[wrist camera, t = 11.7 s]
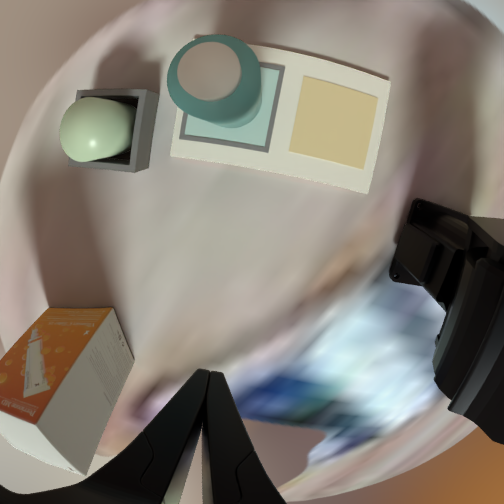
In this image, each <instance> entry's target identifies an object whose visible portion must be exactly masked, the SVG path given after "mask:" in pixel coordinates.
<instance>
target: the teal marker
mask: <svg viewBox="0 0 504 504" xmlns="http://www.w3.org/2000/svg"><path fill="white" fill-rule="evenodd" d="M167 86H168V91H169V94H170V96H171V98H172V100H173V101H174V103H175V104H176V105H177V106H178V107H179V108H180V109H181V110H182V111H184V112H185V113H187V114H189V115H191V116H193V117H196V118H199V119H202V120H205V121H207V122H210V123H213V124H215V125H218V126H221V127H224V128H238V127H242V126H244V125H246V124H248V123H249V122H251V121H252V120H253V119H254V118H255V117H256V116H257V114H258V113H259V111H260V108H261V104H262V89H261V70H260V64H259V61H258V59H257V56H256V55H255V53H254V52H253V50H252V49H251V48H250V47H249V46H248V45H247V44H245V43H244V42H243V41H241V40H239V39H237V38H234V37H231V36H227V35H219V34H218V35H207V36H203V37H200V38H197V39H195V40H193V41H191V42H189V43H188V44H187V45H185V46H184V47H183V48H182V49H181V50H180V51H179V52H178V53H177V54H176V55H175V57H174V58H173V60H172V62H171V64H170V67H169V70H168V74H167Z"/></svg>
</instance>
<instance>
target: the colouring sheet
mask: <svg viewBox="0 0 504 504" xmlns="http://www.w3.org/2000/svg"><path fill="white" fill-rule="evenodd" d="M193 40H195V39H192V41H193ZM247 45H248V46H249V47H250V48H251V49H252V50H253V52H254V53H255V55H256V56H257V59H258V61H259V64H260V70H261V89H262V104H261V108H260V111H259V113H258V114H257V116H256V117H255V118H254V119H253V120H252V121H251V122H249V123H248V124H246V125H244V126H242V127H238V128H224V127H221V126H218V125H215V124H213V123H210V122H207V121H205V120H202V119H199V118H196V117H193V116H191V115H189V114H187V113H185V112H184V111H182V110H181V109H180V108H179V107H178V109H177V114H176V120H175V126H174V132H173V139H172V145H171V152H170V156H173V157H181V158H188V159H196V160H203V161H209V162H216V163H222V164H229V165H235V166H240V167H246V168H252V169H257V170H263V171H268V172H273V173H278V174H283V175H288V176H293V177H297V178H302V179H307V180H311V181H316V182H320V183H324V184H329V185H333V186H337V187H341V188H345V189H349V190H353V191H357V192H361V193H365V194H368V191H369V187H370V183H371V179H372V175H373V171H374V167H375V162H376V158H377V154H378V149H379V144H380V140H381V135H382V130H383V125H384V120H385V114H386V109H387V103H388V97H389V91H390V85H391V82H389V81H387V80H384V79H382V78H379V77H376V76H374V75H371V74H368V73H365V72H362V71H359V70H356V69H353V68H350V67H347V66H344V65H341V64H337V63H334V62H330V61H327V60H323V59H319V58H315V57H312V56H307V55H303V54H299V53H295V52H290V51H285V50H280V49H275V48H270V47H264V46H258V45H251V44H247Z"/></svg>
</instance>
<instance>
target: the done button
mask: <svg viewBox="0 0 504 504" xmlns="http://www.w3.org/2000/svg"><path fill="white" fill-rule="evenodd" d="M136 113H137V109H136V108H135V107H133V106H132V105H130V104H127V103H123V102H117V101H112V100H106V99H101V98H95V97H85V98H82V99H79V100H77V101H76V102H74V103H73V104H72V105H71V106H70V107H69V108H68V110H67V111H66V113H65V114H64V116H63V119H62V121H61V125H60V142H61V145H62V148H63V150H64V151H65V153H66V154H67V155H68V156H69V157H70V158H71V159H73V160H75V161H79V162H87V161H92V160H96V159H101V158H106V157H111V156H116V155H121V154H124V153H127V152H128V151H130V150H131V148H132V140H133V133H134V126H135V119H136Z"/></svg>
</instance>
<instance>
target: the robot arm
mask: <svg viewBox="0 0 504 504" xmlns="http://www.w3.org/2000/svg"><path fill="white" fill-rule="evenodd" d="M419 203H420V207H419V208H418V207H417V206H418V204H419ZM396 273H398V274H397V276H395V277H394V275H395V274H396ZM389 276H390V278H391V279H392V281H394V282H399V283H405V284H411V285H417V286H423V287H424V288H425V290H426V291H427V292H428V293H429V294H430V295H431V296H432V297H433V298H434V299H435V300H436V302H437V303H438V304H439V305H440V306H441V307H442V308H443V309H444V310H445V312H446V316H445V319H444V322H443V325H442V327H441V330H440V333H439V334H438V335H437V337H436V340H435V345H436V349H435V352H434V356H433V361H432V362H433V367H434V373H435V377H434V381H435V383H436V384H437V386H438V388H439V389H440V390H441V391H442V392H443V393H444V394H445V395H446V396H447V397H448V398H449V399H450V400H452V401H451V402H450V404H449V406H448V410H449V411H451V412H454V413H457V414H460V415H463V416H464V417H466V418H468V419H469V420H471V421H473V422H474V423H475V424H476V425H478V426H479V427H480V428H481V429H482V430H483V431H484V432H485V433H486V434H487V436H488V437H489V438H490V439H491V440H493V441H495V442H497V443H500V444H503V445H504V219H499V218H487V217H475V216H468V215H465V214H463V213H460V212H457V211H454V210H452V209H449V208H446V207H443V206H441V205H438V204H435V203H432V202H429V201H426V200H423V199H420V198H416V199H415V200H414V201H413V203H412V206H411V210H410V213H409V216H408V220H407V223H406V225H405V226H404V229H403V232H402V235H401V238H400V241H399V244H398V247H397V250H396V253H395V259H394V262H393V265H392V268H391V270H390V273H389ZM202 423H203V425H202ZM201 429H202V495H203V504H287V503H286V502H285V500H284V499H283V498H282V496H281V495H280V493H279V492H278V490H277V489H276V488H275V486H274V485H273V483H272V481H271V480H270V478H269V477H268V475H267V474H266V472H265V470H264V468H263V466H262V464H261V462H260V460H259V458H258V455H257V453H256V451H254V447H253V444H252V442H251V440H250V438H249V435H248V433H247V431H246V428H245V426H244V424H243V421H242V419H241V416H240V414H239V412H238V409H237V407H236V404H235V402H234V399H233V397H232V394H231V392H230V389H229V387H228V384H227V382H226V379H225V376H224V374H223V373H222V372H217V371H211V372H210V371H209V370H206V369H200V368H199V369H197V370H196V371H195V372H194V373H193V375H192V376H191V377H190V378H189V379H188V380H187V381H186V383H185V384H184V385H183V386H182V387H181V388H180V389H179V391H178V392H177V393H176V394H175V395H174V396H173V397H172V398H171V400H170V401H169V402H168V403H167V404H166V405H165V406H164V407H163V409H162V410H161V411H160V412H159V413H158V414H157V415H156V416H155V417H154V419H153V420H152V421H151V422H150V423H149V424H148V425H147V426H146V427H145V428H144V430H143V432H141V433H140V434H139V435H138V436H137V437H136V438H135V439H134V440H133V441H132V442H131V443H130V444H129V445H128V446H127V447H126V448H125V449H124V450H123V451H121V452H120V453H119V454H118V455H117V456H116V457H114V458H113V459H112V460H110V461H109V462H108V463H107V464H105V465H104V466H103V467H101V468H100V469H99V470H97V471H96V472H95V473H93V474H92V475H91V476H89V477H88V478H86V479H85V480H83V481H81V482H79V483H77V484H74V485H71V486H67V487H62V488H58V489H53V490H48V491H43V492H37V493H31V494H18V493H14V492H12V491H9V490H8V489H6V488H5V487H3V486H2V485H0V504H179V502H180V499H181V495H182V492H183V489H184V486H185V482H186V479H187V475H188V472H189V469H190V466H191V462H192V459H193V456H194V453H195V449H196V446H197V443H198V440H199V436H200V433H201Z"/></svg>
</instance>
